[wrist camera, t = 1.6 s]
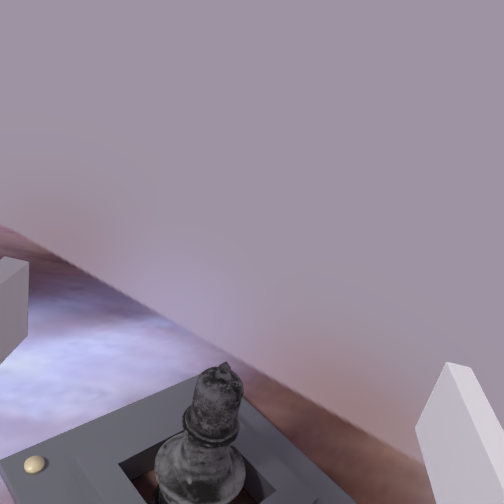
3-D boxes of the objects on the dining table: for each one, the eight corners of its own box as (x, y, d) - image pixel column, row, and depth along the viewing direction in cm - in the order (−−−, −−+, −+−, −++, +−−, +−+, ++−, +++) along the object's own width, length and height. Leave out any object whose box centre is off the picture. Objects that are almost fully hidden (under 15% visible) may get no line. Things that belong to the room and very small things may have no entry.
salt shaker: (201, 453, 36) (232, 321, 31) (252, 515, 32) (297, 377, 27) (130, 491, 32) (153, 347, 27) (180, 566, 28) (217, 415, 23)
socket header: (-2, 471, 31) (-2, 443, 30) (210, 377, 44) (215, 355, 43) (153, 769, 21) (160, 742, 19) (373, 532, 33) (385, 508, 32)
